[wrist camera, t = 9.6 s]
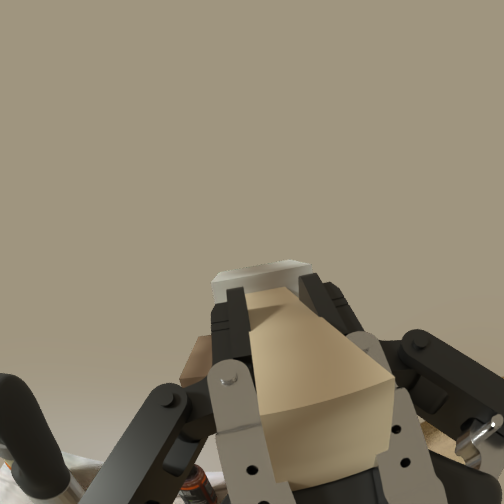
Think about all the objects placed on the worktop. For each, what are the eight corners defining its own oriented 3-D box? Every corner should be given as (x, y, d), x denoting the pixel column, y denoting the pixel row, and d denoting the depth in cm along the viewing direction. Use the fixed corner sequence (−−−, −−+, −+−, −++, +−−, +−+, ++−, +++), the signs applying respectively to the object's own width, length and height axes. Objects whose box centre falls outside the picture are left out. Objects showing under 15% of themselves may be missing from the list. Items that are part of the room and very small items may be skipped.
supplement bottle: (210, 486, 35) (192, 448, 35) (223, 505, 30) (205, 468, 29) (181, 495, 32) (159, 458, 32) (191, 515, 27) (168, 480, 26)
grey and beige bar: (207, 519, 4) (135, 374, 4) (229, 322, 23) (219, 272, 23) (440, 454, 4) (464, 297, 4) (297, 309, 23) (289, 259, 23)
